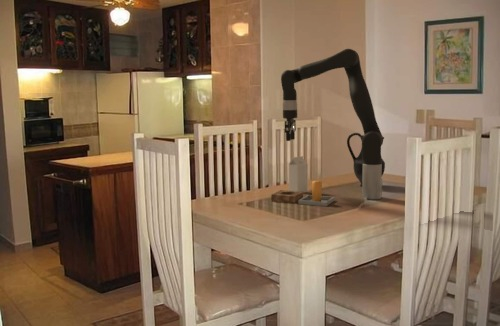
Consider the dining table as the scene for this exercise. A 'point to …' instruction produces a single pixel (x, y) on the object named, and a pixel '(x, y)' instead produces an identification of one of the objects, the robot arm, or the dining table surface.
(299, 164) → the milk carton
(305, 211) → the dining table surface
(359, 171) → the pitcher
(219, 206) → the dining table surface
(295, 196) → the socket block
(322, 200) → the tray
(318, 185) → the plug
